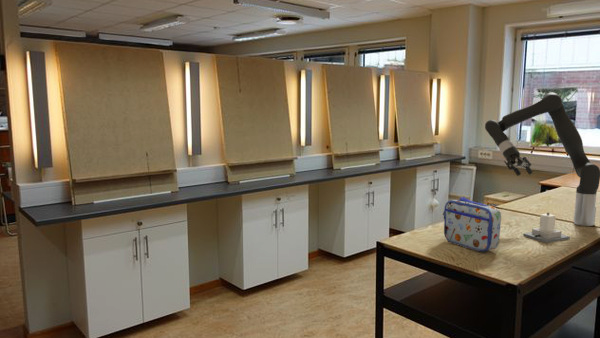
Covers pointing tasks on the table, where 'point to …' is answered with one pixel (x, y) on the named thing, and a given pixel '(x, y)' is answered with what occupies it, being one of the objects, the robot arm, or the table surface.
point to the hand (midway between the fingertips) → (525, 174)
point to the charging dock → (546, 235)
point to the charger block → (547, 222)
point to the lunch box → (472, 224)
